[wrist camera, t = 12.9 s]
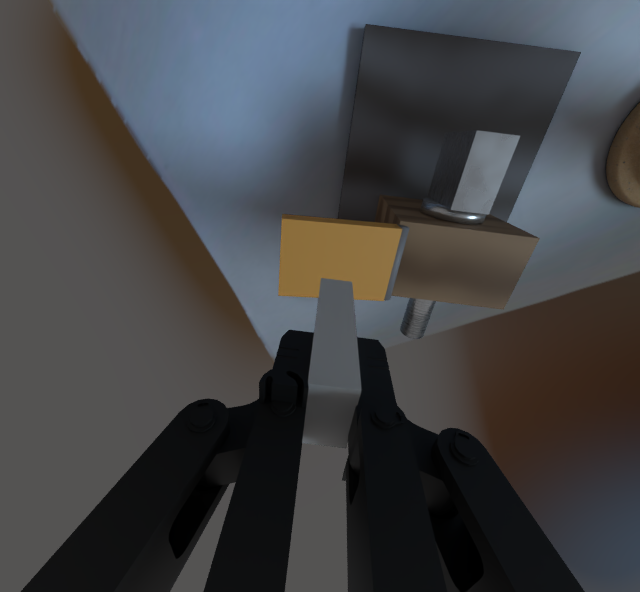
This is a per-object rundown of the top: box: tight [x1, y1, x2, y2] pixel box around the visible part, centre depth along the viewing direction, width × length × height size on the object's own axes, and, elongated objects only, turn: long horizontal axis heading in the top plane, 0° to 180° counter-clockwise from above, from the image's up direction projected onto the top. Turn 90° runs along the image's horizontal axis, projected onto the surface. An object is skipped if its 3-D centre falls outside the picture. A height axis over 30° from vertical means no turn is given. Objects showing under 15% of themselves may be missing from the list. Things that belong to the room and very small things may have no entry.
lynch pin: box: [400, 130, 520, 339], centre depth 25 cm, size 18×5×6 cm, turn 174°
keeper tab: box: [278, 214, 409, 301], centre depth 20 cm, size 6×9×1 cm, turn 84°
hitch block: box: [338, 24, 581, 309], centre depth 25 cm, size 24×18×12 cm
